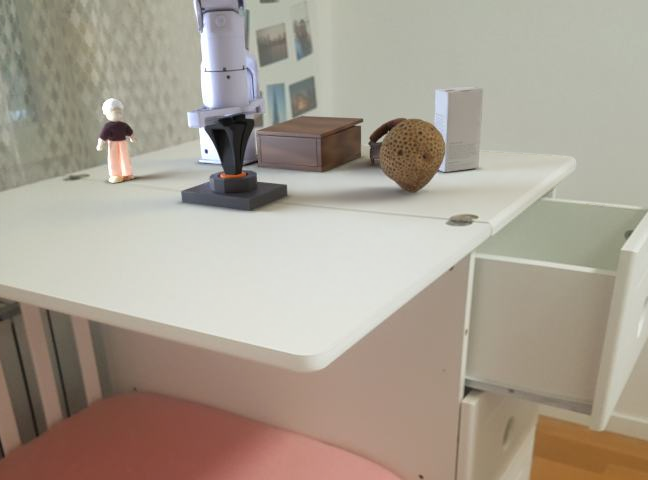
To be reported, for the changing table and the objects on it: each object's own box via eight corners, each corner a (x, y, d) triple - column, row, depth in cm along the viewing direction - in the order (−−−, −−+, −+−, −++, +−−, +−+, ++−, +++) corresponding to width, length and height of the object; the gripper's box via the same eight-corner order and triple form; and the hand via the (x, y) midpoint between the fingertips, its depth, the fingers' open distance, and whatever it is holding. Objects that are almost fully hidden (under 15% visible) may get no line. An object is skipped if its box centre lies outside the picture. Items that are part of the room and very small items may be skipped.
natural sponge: (434, 202, 95) (437, 124, 90) (370, 198, 98) (370, 123, 94) (448, 186, 102) (452, 114, 98) (388, 183, 105) (389, 113, 101)
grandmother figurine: (117, 184, 114) (105, 101, 108) (98, 183, 115) (86, 101, 110) (147, 174, 120) (137, 95, 114) (129, 173, 121) (118, 95, 116)
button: (216, 187, 100) (214, 175, 99) (231, 182, 103) (230, 170, 102) (236, 190, 98) (235, 177, 97) (251, 184, 101) (250, 172, 100)
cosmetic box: (465, 164, 115) (470, 85, 110) (479, 169, 112) (485, 87, 106) (430, 168, 114) (434, 88, 109) (444, 173, 110) (448, 90, 105)
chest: (300, 152, 132) (299, 122, 129) (361, 156, 125) (361, 125, 123) (258, 166, 122) (256, 134, 119) (321, 172, 115) (320, 138, 113)
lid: (301, 119, 130) (301, 115, 130) (363, 122, 123) (363, 118, 123) (256, 134, 119) (255, 130, 119) (320, 138, 113) (320, 134, 112)
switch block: (182, 202, 101) (179, 178, 99) (221, 189, 108) (219, 165, 106) (250, 211, 95) (248, 185, 93) (287, 196, 101) (286, 171, 100)
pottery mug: (438, 171, 114) (417, 128, 109) (384, 197, 117) (361, 156, 113) (430, 139, 123) (411, 98, 118) (381, 164, 126) (359, 125, 122)
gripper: (214, 75, 86) (223, 187, 92) (280, 65, 97) (285, 165, 103) (170, 75, 90) (182, 182, 96) (239, 65, 101) (246, 162, 107)
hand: (233, 173), depth 100 cm, fingers closed, pressing on button
